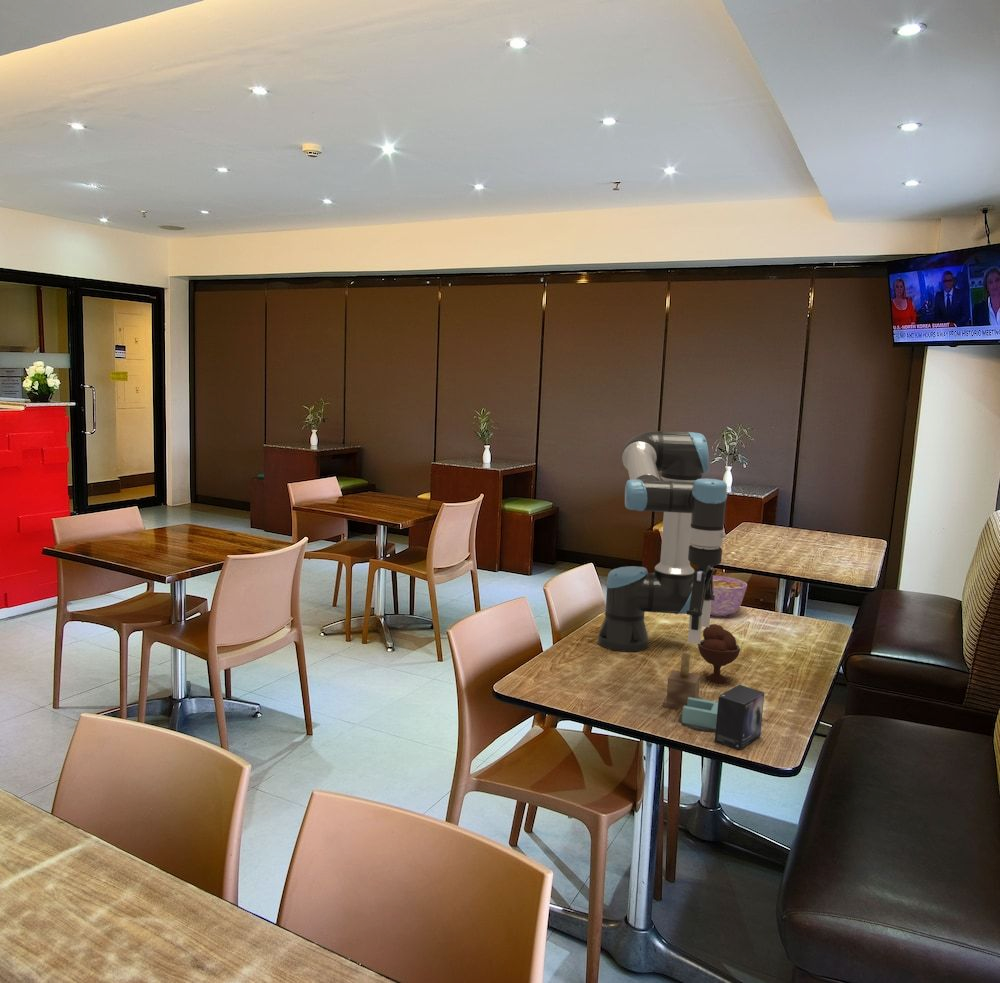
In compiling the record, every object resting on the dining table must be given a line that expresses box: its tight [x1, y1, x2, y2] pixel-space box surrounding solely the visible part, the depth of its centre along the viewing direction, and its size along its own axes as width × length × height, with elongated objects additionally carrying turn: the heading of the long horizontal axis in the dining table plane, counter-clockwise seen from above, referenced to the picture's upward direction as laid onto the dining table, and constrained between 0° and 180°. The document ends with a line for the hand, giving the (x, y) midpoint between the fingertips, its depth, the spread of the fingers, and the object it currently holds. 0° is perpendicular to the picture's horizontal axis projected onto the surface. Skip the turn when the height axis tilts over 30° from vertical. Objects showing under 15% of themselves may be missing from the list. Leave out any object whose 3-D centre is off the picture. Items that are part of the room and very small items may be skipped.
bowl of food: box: [710, 575, 748, 617], centre depth 277 cm, size 20×20×12 cm
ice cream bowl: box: [697, 623, 741, 685], centre depth 209 cm, size 11×11×15 cm
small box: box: [713, 684, 765, 750], centre depth 172 cm, size 11×6×10 cm, turn 138°
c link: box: [681, 697, 718, 729], centre depth 181 cm, size 8×8×4 cm
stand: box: [662, 652, 703, 712], centre depth 191 cm, size 8×8×12 cm
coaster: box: [678, 712, 716, 732], centre depth 181 cm, size 10×10×1 cm
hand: (698, 634), depth 186 cm, fingers open, 13 cm apart
